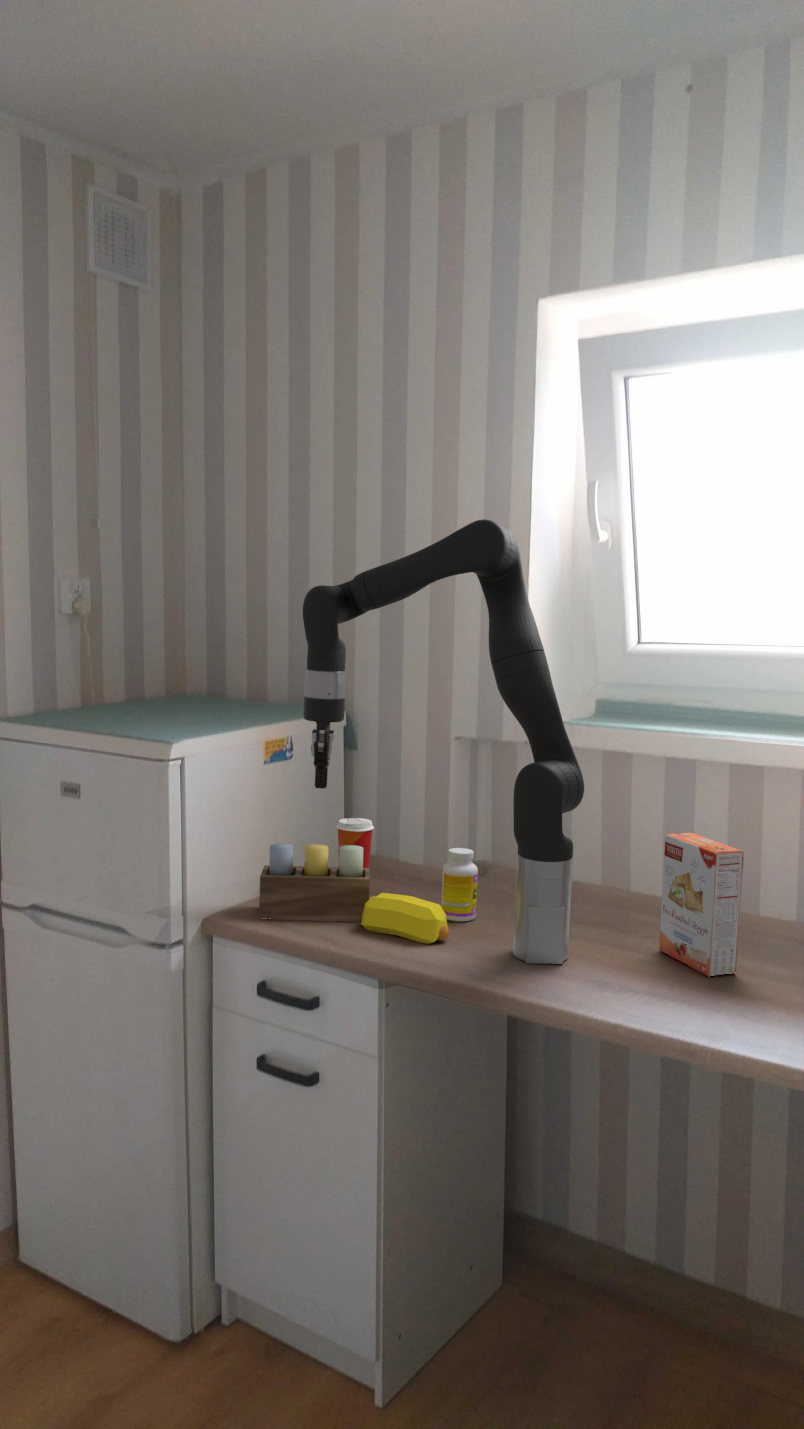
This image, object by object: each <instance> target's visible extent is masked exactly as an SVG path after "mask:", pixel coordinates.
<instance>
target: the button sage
mask: <svg viewBox="0 0 804 1429" xmlns="http://www.w3.org/2000/svg"><path fill="white" fill-rule="evenodd" d="M338 867H339V877H363V847H361V846H355V845H346V846H341V847H340V858H339V857H338Z"/></svg>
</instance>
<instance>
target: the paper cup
mask: <svg viewBox="0 0 804 1429" xmlns="http://www.w3.org/2000/svg"><path fill="white" fill-rule="evenodd" d="M337 822H338V823H337V824H336V828H337V843H338V844H337V845H338V846H337V847H338V849H337V850H338V851H337V852H338V859H339V858H340V847H341V846H346V845H355V846H361V847H363V868H369V869H370V859H371V848H372V837H373V830H374V829H375V826H374V825H373V821H372V819H368V818H361V817H356V818H355V817H349V818H347V817H346V818H341V819H339V820H338V821H337Z"/></svg>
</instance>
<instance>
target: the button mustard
mask: <svg viewBox="0 0 804 1429" xmlns="http://www.w3.org/2000/svg"><path fill="white" fill-rule="evenodd" d="M329 849H330V848H329V846H328V845H326V844H316V843H315V844H313V843H312V844H306V845H305V846H304V862H303V864H304V865H303V866H304V876H328V867H329Z"/></svg>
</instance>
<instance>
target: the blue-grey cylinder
mask: <svg viewBox="0 0 804 1429" xmlns="http://www.w3.org/2000/svg"><path fill="white" fill-rule="evenodd" d="M268 866H269V875H293V866H294V845H293V844H290V843H273V844H270V845H269V865H268Z"/></svg>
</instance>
